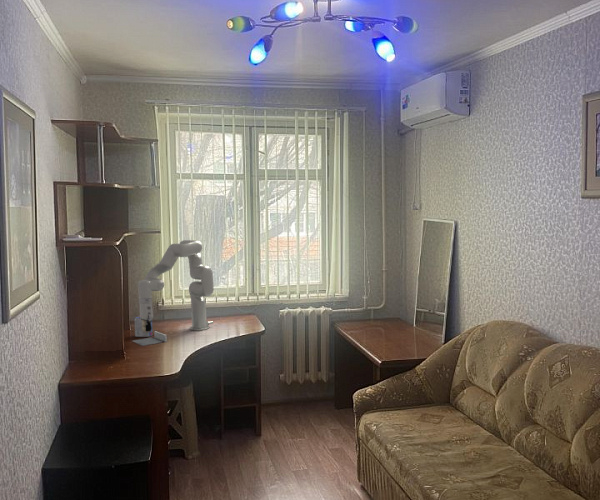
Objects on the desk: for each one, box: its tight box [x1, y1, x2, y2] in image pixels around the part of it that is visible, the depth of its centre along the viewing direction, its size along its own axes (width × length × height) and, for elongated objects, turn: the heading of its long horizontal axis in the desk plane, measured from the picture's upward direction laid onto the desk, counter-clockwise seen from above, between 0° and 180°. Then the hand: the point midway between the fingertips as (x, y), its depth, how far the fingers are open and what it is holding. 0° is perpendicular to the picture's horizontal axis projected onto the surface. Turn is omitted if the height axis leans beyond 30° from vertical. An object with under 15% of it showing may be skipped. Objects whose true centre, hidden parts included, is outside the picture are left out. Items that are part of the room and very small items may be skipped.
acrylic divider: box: [153, 330, 168, 343], centre depth 363 cm, size 1×16×4 cm, turn 37°
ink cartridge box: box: [134, 316, 154, 338], centre depth 374 cm, size 10×6×14 cm, turn 78°
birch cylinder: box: [142, 320, 151, 333], centre depth 358 cm, size 5×5×7 cm
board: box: [131, 336, 163, 347], centre depth 359 cm, size 13×16×1 cm
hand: (146, 330), depth 358 cm, fingers closed on birch cylinder, 5 cm apart
